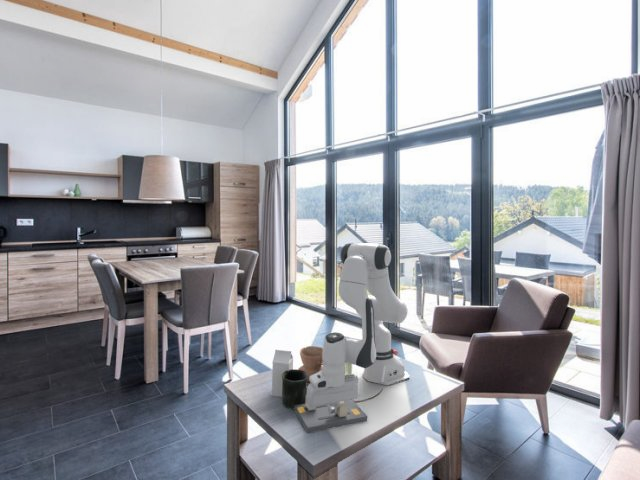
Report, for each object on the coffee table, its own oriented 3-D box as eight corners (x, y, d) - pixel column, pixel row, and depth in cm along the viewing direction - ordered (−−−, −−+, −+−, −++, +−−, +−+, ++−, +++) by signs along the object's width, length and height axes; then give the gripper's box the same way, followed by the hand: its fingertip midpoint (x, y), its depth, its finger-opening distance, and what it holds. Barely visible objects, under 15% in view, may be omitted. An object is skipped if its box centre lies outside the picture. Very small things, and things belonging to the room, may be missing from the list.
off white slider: (312, 404, 150) (312, 394, 149) (316, 409, 146) (316, 399, 146) (305, 405, 149) (305, 395, 148) (308, 410, 145) (309, 400, 145)
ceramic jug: (288, 377, 178) (289, 348, 176) (312, 369, 187) (313, 341, 186) (313, 393, 164) (314, 362, 163) (337, 383, 174) (338, 353, 172)
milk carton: (288, 398, 158) (289, 354, 157) (271, 396, 160) (272, 352, 158) (292, 390, 165) (293, 348, 164) (276, 388, 167) (277, 346, 165)
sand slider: (342, 410, 146) (342, 400, 145) (346, 415, 142) (347, 405, 142) (335, 411, 145) (335, 401, 144) (339, 417, 141) (340, 407, 141)
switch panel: (348, 400, 158) (349, 395, 158) (367, 421, 143) (367, 415, 143) (294, 410, 149) (294, 405, 149) (307, 433, 134) (308, 427, 134)
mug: (287, 413, 147) (288, 383, 146) (273, 396, 160) (274, 369, 159) (312, 406, 152) (313, 378, 151) (296, 390, 165) (297, 364, 164)
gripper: (354, 370, 147) (353, 403, 149) (305, 377, 140) (304, 412, 141) (362, 377, 142) (360, 412, 143) (310, 384, 134) (309, 421, 135)
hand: (332, 412), depth 142 cm, fingers closed
